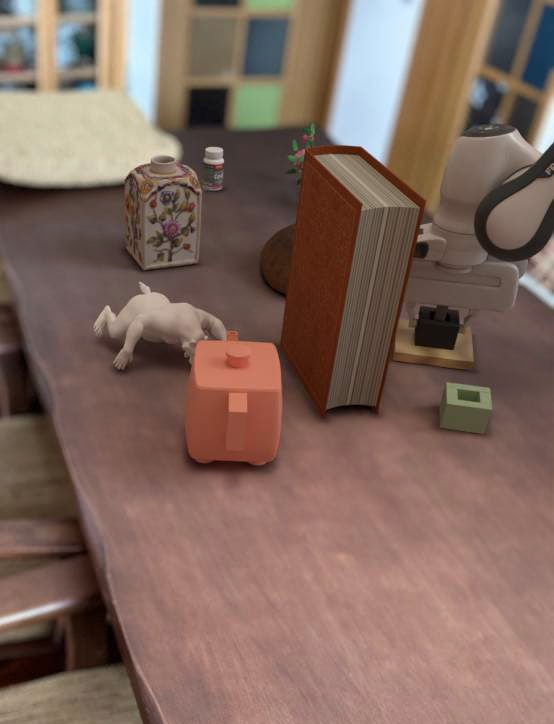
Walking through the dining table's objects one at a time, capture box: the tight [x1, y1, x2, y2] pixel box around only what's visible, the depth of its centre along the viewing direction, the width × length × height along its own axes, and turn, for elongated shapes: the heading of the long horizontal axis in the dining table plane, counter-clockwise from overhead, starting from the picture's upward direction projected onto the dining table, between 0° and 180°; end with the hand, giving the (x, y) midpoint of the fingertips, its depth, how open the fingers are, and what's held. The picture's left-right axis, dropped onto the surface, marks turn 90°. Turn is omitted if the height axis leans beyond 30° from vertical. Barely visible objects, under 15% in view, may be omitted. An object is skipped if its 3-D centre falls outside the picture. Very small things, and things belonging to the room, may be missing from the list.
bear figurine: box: [92, 281, 228, 371], centre depth 128 cm, size 17×14×20 cm
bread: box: [259, 222, 296, 295], centre depth 151 cm, size 28×27×9 cm
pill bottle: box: [201, 146, 225, 192], centre depth 187 cm, size 5×5×8 cm
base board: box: [392, 305, 475, 371], centre depth 130 cm, size 12×12×8 cm
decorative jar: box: [124, 154, 203, 272], centre depth 154 cm, size 12×12×18 cm
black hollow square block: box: [415, 305, 460, 350], centre depth 131 cm, size 6×6×4 cm
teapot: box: [184, 330, 283, 466], centre depth 108 cm, size 22×13×14 cm, turn 177°
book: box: [279, 144, 427, 420], centre depth 116 cm, size 23×8×30 cm, turn 9°
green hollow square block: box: [438, 381, 493, 435], centre depth 116 cm, size 6×6×4 cm
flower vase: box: [284, 122, 324, 186], centre depth 181 cm, size 12×12×35 cm
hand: (435, 329), depth 131 cm, fingers closed on black hollow square block, 6 cm apart
